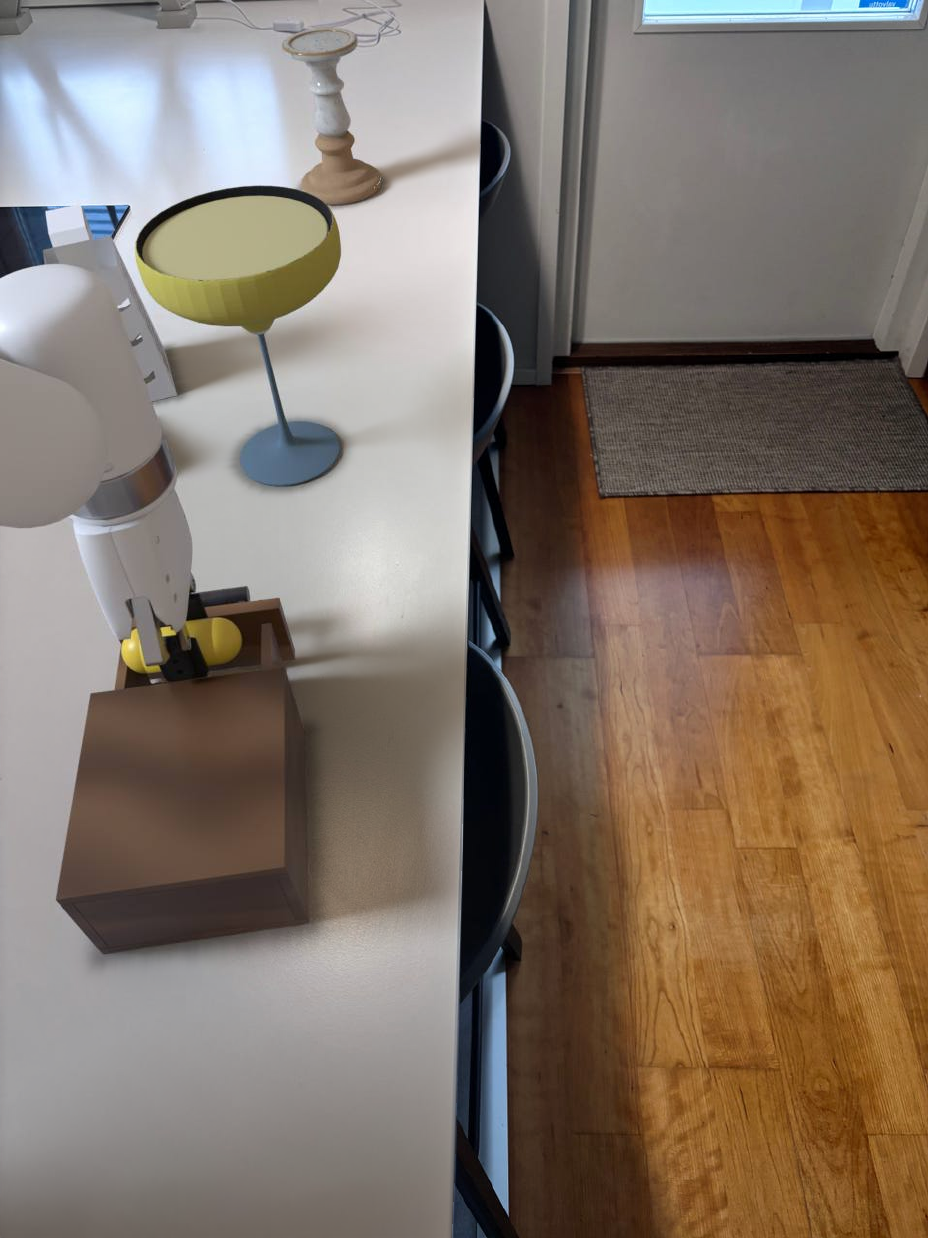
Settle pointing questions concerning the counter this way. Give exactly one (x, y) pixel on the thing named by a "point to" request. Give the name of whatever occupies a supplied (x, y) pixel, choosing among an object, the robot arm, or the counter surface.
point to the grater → (106, 263)
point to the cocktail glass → (249, 292)
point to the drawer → (256, 623)
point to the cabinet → (188, 813)
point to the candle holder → (331, 118)
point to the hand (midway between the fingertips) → (189, 653)
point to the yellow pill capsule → (211, 634)
